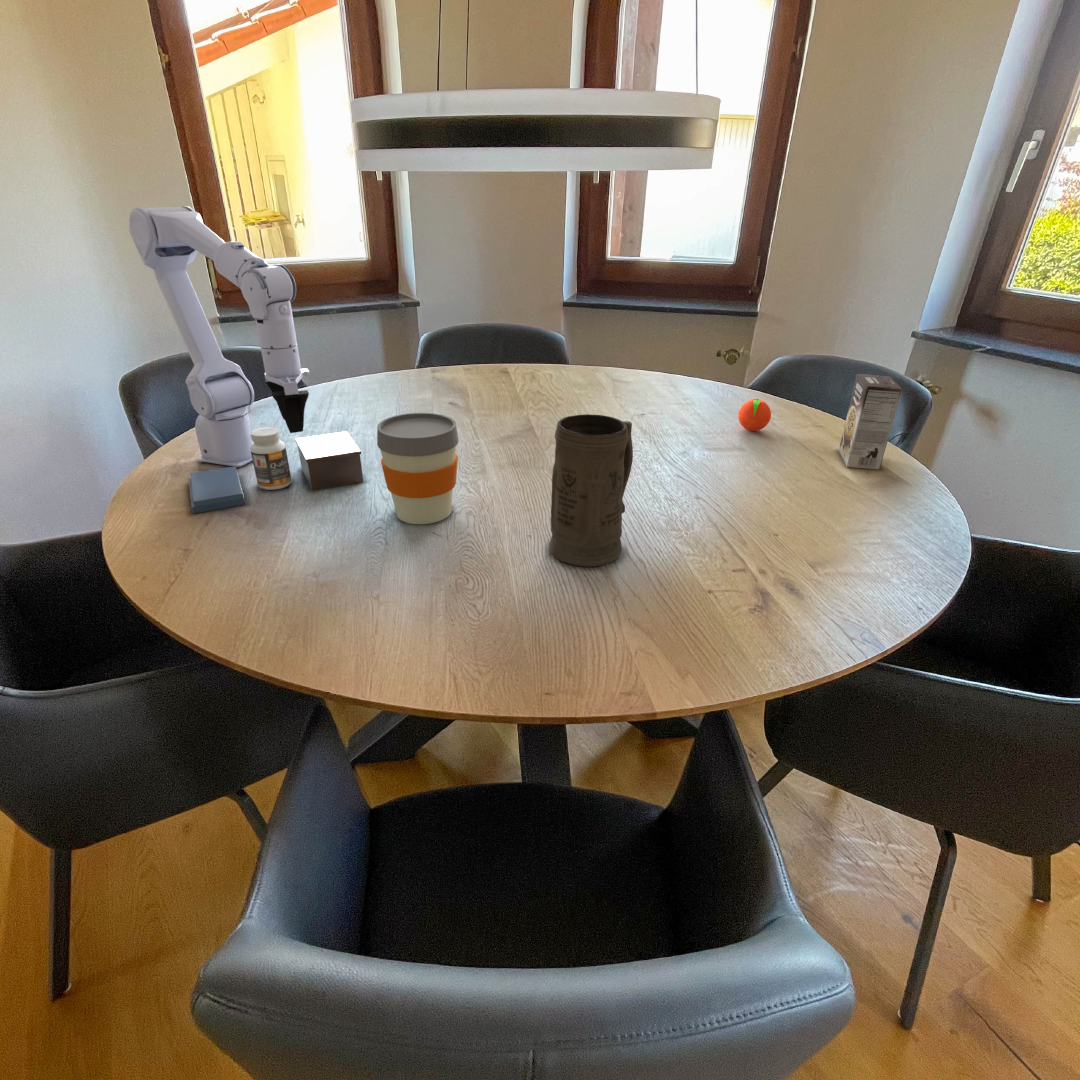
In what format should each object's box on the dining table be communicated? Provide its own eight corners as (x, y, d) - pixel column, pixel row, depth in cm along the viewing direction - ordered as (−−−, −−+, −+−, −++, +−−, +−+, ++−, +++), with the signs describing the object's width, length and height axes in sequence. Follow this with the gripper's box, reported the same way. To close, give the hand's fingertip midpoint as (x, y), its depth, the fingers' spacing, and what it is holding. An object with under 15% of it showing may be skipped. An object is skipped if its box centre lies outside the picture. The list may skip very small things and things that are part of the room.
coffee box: (836, 450, 136) (855, 373, 128) (870, 453, 135) (891, 375, 127) (845, 467, 128) (866, 385, 120) (880, 470, 127) (904, 387, 119)
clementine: (767, 438, 142) (773, 406, 139) (734, 434, 144) (739, 403, 140) (768, 427, 149) (774, 396, 145) (737, 423, 151) (742, 393, 147)
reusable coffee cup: (439, 535, 102) (433, 443, 94) (370, 521, 105) (358, 432, 98) (474, 502, 112) (471, 417, 105) (409, 491, 116) (402, 408, 108)
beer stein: (598, 577, 91) (612, 438, 83) (533, 556, 96) (540, 422, 88) (643, 540, 103) (659, 414, 95) (583, 522, 108) (593, 402, 100)
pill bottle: (281, 492, 114) (270, 438, 110) (251, 489, 115) (239, 435, 111) (298, 479, 119) (288, 427, 115) (269, 476, 120) (259, 424, 116)
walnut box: (311, 491, 115) (305, 459, 112) (300, 468, 124) (295, 438, 121) (364, 482, 119) (360, 451, 116) (350, 460, 128) (346, 431, 125)
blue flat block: (193, 513, 107) (190, 502, 106) (190, 484, 117) (187, 473, 116) (245, 504, 110) (243, 493, 109) (238, 476, 120) (236, 466, 119)
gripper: (312, 352, 104) (324, 434, 110) (297, 335, 115) (309, 410, 122) (264, 356, 101) (280, 440, 107) (254, 338, 112) (269, 415, 119)
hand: (292, 425), depth 114 cm, fingers open, 7 cm apart
